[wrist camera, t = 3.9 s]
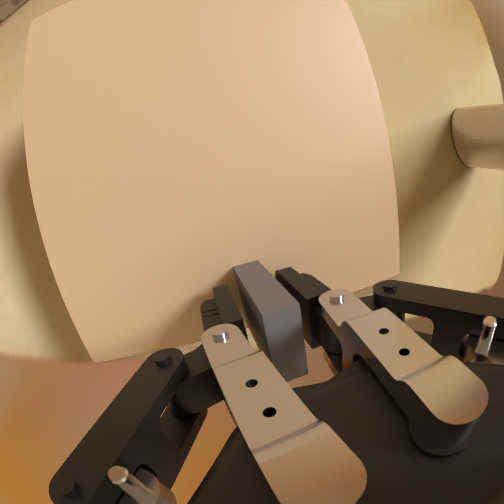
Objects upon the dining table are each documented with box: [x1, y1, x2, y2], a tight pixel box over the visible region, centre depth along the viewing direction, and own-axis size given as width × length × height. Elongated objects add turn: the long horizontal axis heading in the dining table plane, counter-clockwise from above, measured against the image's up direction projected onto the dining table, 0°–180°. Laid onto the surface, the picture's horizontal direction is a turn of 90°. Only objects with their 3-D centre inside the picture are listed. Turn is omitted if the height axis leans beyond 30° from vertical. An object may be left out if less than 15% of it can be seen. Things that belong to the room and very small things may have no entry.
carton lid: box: [23, 0, 400, 382], centre depth 9 cm, size 19×20×6 cm
